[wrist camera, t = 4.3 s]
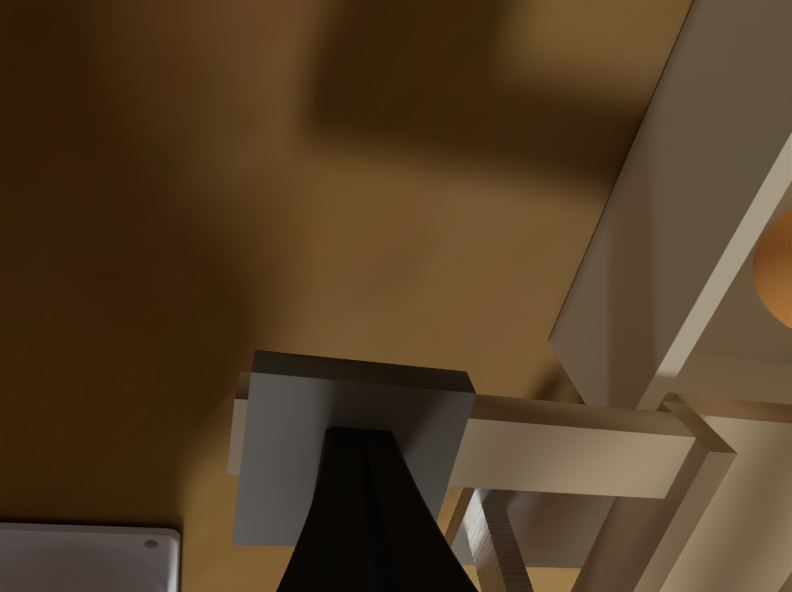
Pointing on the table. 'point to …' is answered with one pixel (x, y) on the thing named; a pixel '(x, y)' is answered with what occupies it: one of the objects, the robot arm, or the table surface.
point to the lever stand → (523, 533)
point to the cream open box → (692, 226)
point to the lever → (536, 465)
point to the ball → (775, 268)
